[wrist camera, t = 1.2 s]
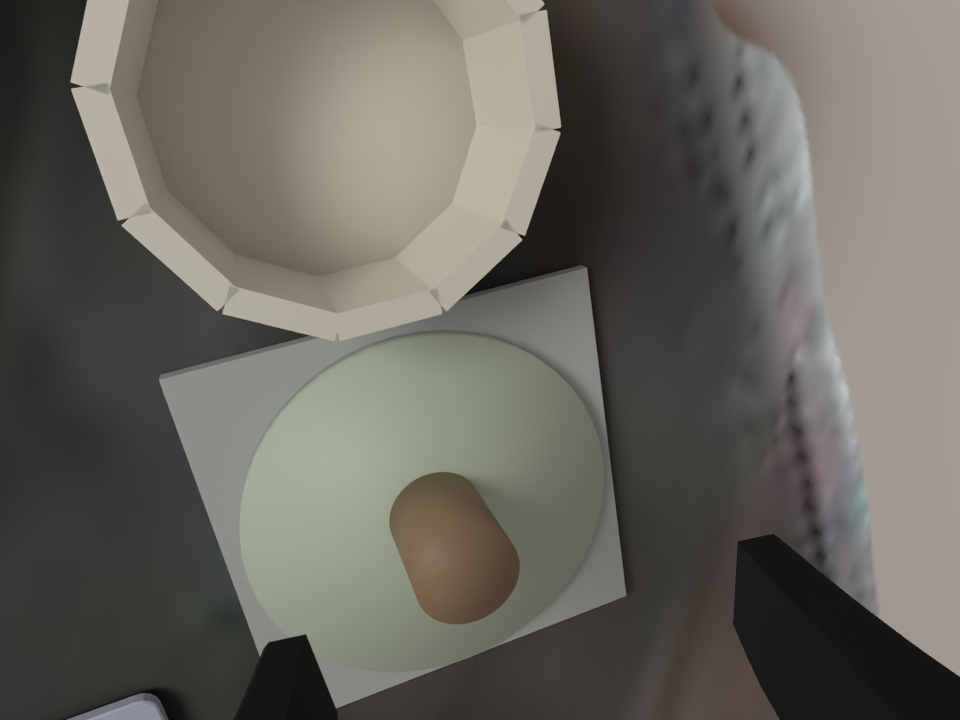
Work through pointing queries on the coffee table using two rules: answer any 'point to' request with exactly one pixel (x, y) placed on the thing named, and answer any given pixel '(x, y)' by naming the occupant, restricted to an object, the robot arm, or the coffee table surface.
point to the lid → (420, 500)
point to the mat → (288, 366)
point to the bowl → (321, 147)
